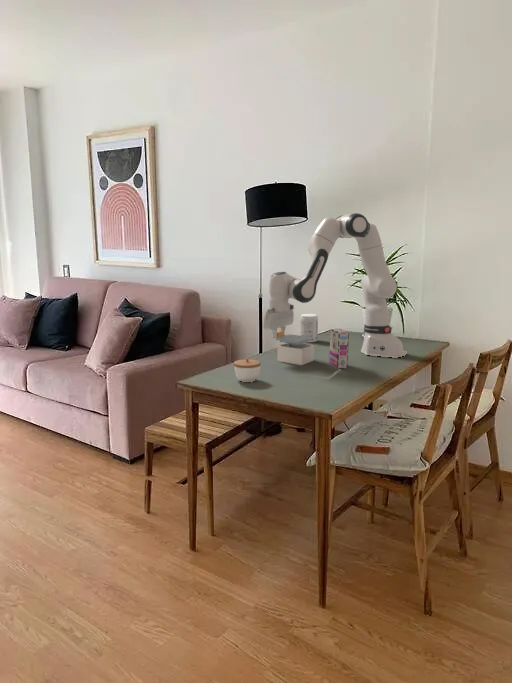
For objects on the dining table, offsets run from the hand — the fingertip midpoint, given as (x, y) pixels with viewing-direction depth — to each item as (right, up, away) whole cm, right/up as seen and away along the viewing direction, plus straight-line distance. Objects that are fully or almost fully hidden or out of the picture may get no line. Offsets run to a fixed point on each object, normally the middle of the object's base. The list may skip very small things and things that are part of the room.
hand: (278, 336), depth 250 cm
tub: (+8, -12, -3) cm, 15 cm away
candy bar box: (+26, -14, -10) cm, 32 cm away
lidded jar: (-14, -19, -34) cm, 41 cm away
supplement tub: (+19, -2, +46) cm, 50 cm away
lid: (+5, -2, -3) cm, 7 cm away
